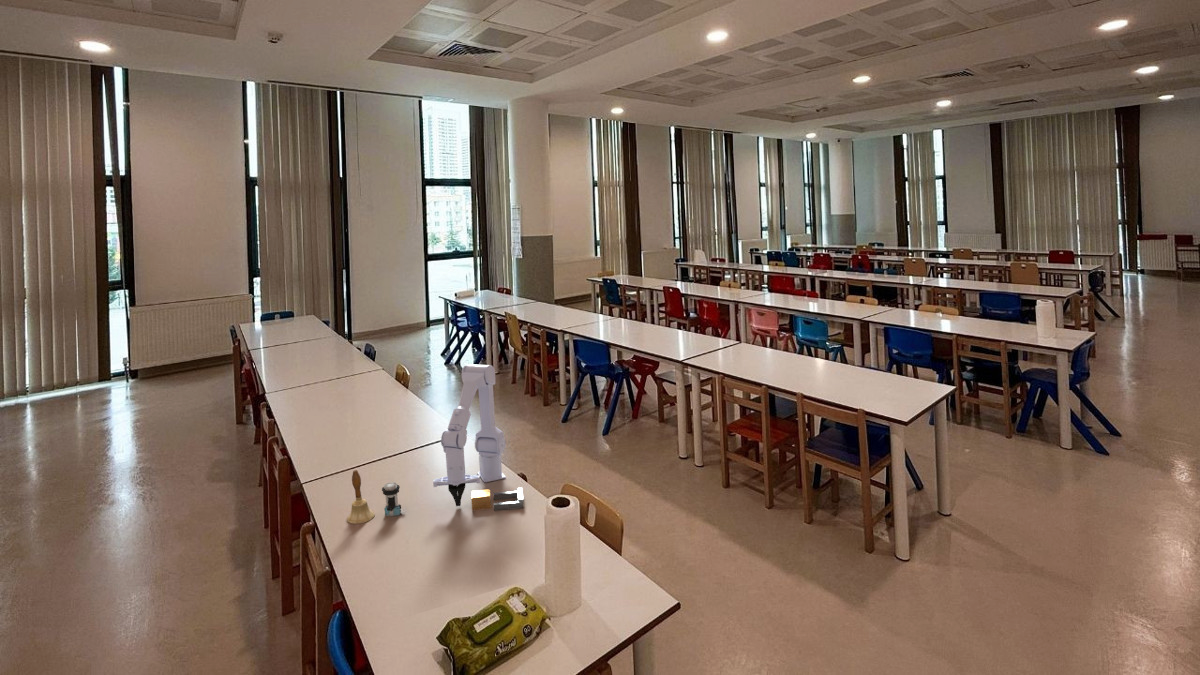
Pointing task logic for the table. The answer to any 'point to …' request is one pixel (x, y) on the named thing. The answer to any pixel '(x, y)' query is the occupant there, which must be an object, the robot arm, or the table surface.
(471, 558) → the table surface
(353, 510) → the hand bell
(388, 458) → the table surface
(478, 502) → the block
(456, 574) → the table surface
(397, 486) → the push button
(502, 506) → the guide channel
